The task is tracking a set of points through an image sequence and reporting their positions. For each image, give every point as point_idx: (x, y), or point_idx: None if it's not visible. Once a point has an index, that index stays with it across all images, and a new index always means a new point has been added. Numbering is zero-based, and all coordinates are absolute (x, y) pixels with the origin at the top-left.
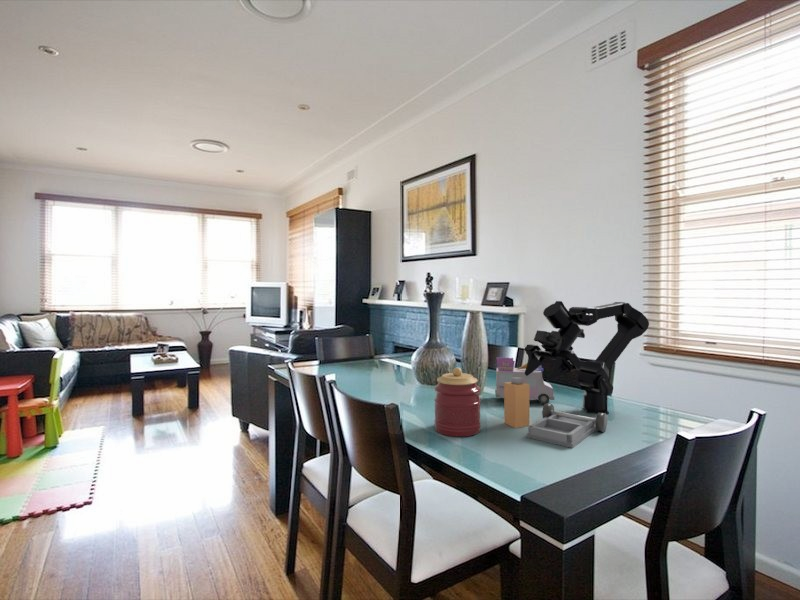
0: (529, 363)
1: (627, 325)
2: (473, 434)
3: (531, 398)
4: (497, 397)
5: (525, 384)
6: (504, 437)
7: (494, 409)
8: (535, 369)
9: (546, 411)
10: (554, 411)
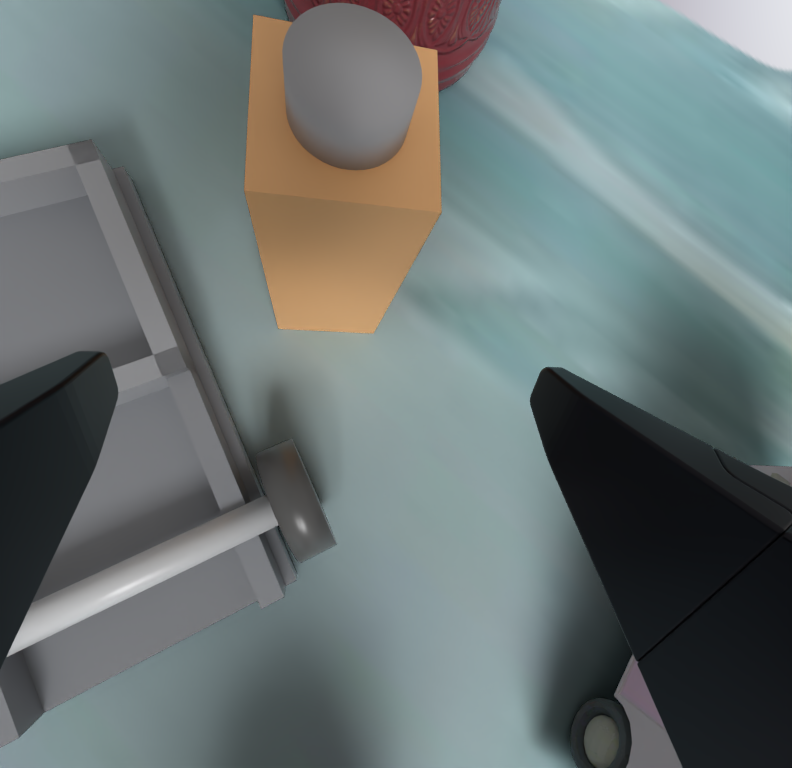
0: (684, 458)
1: None
2: (284, 2)
3: (633, 657)
4: None
5: (258, 146)
6: (192, 95)
7: (587, 363)
8: (600, 579)
9: (265, 453)
10: (248, 515)
